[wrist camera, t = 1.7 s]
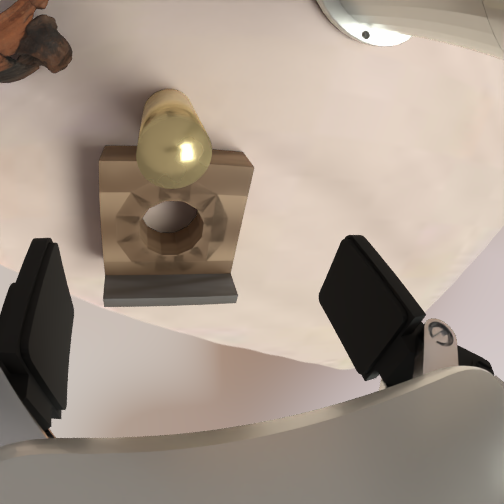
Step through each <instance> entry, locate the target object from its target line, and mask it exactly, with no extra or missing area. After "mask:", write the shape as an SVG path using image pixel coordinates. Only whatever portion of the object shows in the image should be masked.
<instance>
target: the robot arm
mask: <svg viewBox="0 0 504 504" xmlns="http://www.w3.org/2000/svg"><path fill="white" fill-rule="evenodd" d="M316 1H317V2H318V4H319V6H320V8H321V9H322V11H323V13H324V14H325V15H326V17H327V18H328V19H329V20H330V22H331V23H332V24H333V25H334V26H336V27H337V28H338V29H339V30H340V31H341V32H342V33H344V34H345V35H347V36H348V37H350V38H352V39H354V40H356V41H358V42H360V43H364V44H368V45H372V46H380V47H388V46H395V45H398V44H401V43H403V42H405V41H407V40H408V39H410V38H411V37H412V36H415V37H420V38H425V39H430V40H435V41H439V42H444V43H448V44H452V45H456V46H460V47H463V48H467V49H471V50H474V51H477V52H481V53H484V54H487V55H490V56H493V57H496V58H499V59H502V60H504V0H316ZM319 302H320V304H321V306H322V308H323V309H324V311H325V313H326V315H327V317H328V318H329V320H330V322H331V324H332V326H333V328H334V329H335V331H336V333H337V335H338V337H339V339H340V340H341V342H342V344H343V346H344V348H345V350H346V352H347V353H348V355H349V357H350V359H351V361H352V363H353V365H354V367H355V369H356V370H357V372H358V373H359V374H361V375H362V377H363V378H364V380H365V381H367V380H371V379H374V378H376V377H377V376H378V375H379V374H380V376H381V383H380V388H379V391H377V392H374V393H371V394H368V395H365V396H362V397H359V398H355V399H352V400H349V401H346V402H342V403H339V404H335V405H332V406H328V407H324V408H321V409H317V410H313V411H309V412H305V413H301V414H297V415H293V416H289V417H284V418H279V419H274V420H270V421H264V422H259V423H254V424H248V425H242V426H236V427H230V428H224V429H217V430H210V431H202V432H193V433H184V434H174V435H162V436H161V435H160V436H145V437H144V436H143V437H125V438H56V437H55V436H54V435H53V433H52V432H51V430H50V429H49V428H50V427H51V418H54V419H61V410H65V409H66V405H67V381H68V365H69V354H70V344H71V334H72V326H73V318H74V308H73V304H72V301H71V296H70V293H69V289H68V285H67V281H66V277H65V273H64V269H63V265H62V261H61V256H60V251H59V247H58V244H57V243H53V242H52V239H51V238H35V239H33V240H32V242H31V244H30V247H29V249H28V252H27V254H26V257H25V259H24V262H23V264H22V267H21V270H20V272H19V275H18V278H17V281H16V283H12V284H11V285H10V287H9V290H8V293H7V296H6V298H5V301H4V304H3V307H2V311H1V314H0V504H504V382H503V381H502V380H500V379H499V378H498V377H497V376H495V377H494V372H493V370H492V367H491V365H490V363H489V362H488V361H487V360H485V359H483V358H482V357H480V356H478V355H476V354H474V353H472V352H470V351H468V350H466V349H464V348H462V347H460V346H458V345H457V339H456V335H455V333H454V332H453V330H452V329H451V328H450V327H449V326H448V325H447V324H446V323H445V322H443V321H441V320H439V319H436V318H431V319H428V320H427V321H426V322H425V324H423V323H422V322H421V321H422V320H423V318H424V317H425V316H426V314H425V313H424V311H423V310H422V308H421V307H420V306H419V304H418V303H417V302H416V300H415V299H414V298H413V297H412V295H411V294H410V293H409V291H408V290H407V289H406V287H405V286H404V285H403V284H402V282H401V281H400V280H399V278H398V277H397V276H396V275H395V273H394V272H393V271H392V270H391V268H390V267H389V266H388V265H387V263H386V262H385V261H384V260H383V259H382V257H381V256H380V255H379V254H378V252H377V251H376V250H375V249H374V248H373V246H372V245H371V244H370V243H369V242H368V241H367V239H366V238H365V237H364V236H362V235H348V236H346V237H345V239H343V240H342V241H341V243H340V246H339V248H338V250H337V253H336V255H335V258H334V260H333V262H332V265H331V267H330V270H329V272H328V274H327V277H326V279H325V281H324V283H323V286H322V288H321V290H320V293H319Z"/></svg>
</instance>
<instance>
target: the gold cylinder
mask: <svg viewBox="0 0 504 504" xmlns="http://www.w3.org/2000/svg"><path fill="white" fill-rule="evenodd" d="M211 157H212V146H211V142H210V139H209V137H208V135H207V133H206V131H205V129H204V127H203V125H202V123H201V122H200V120H199V118H198V116H197V114H196V112H195V110H194V108H193V106H192V104H191V102H190V101H189V99H188V98H187V96H186V95H185V94H183V93H182V92H180V91H178V90H174V89H165V90H161V91H158V92H156V93H155V94H153V95H152V96H151V97H150V98H149V99H148V100H147V102H146V104H145V106H144V110H143V115H142V121H141V127H140V133H139V139H138V145H137V152H136V159H137V164H138V168H139V170H140V172H141V173H142V175H143V176H144V177H145V178H146V179H147V180H148V181H149V182H151V183H152V184H154V185H156V186H159V187H162V188H167V189H176V188H182V187H185V186H188V185H190V184H192V183H194V182H195V181H197V180H198V179H199V178H200V177H201V176H202V175H203V174H204V173H205V171H206V170H207V168H208V166H209V164H210V161H211Z"/></svg>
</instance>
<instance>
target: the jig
mask: <svg viewBox="0 0 504 504" xmlns="http://www.w3.org/2000/svg"><path fill="white" fill-rule="evenodd" d="M136 152H137V146H105V147H104V150H103V152H102V155H101V157H100V160H99V200H100V221H101V236H102V248H103V259H104V268H105V283H104V295H103V301H104V307H136V306H177V305H203V304H225V303H236V301H237V297H238V294H237V291H236V288H235V285H234V282H233V279H232V276H231V269H232V264H233V260H234V255H235V251H236V246H237V241H238V237H239V233H240V228H241V224H242V219H243V215H244V210H245V206H246V201H247V197H248V193H249V188H250V184H251V180H252V175H253V171H254V167H253V165H252V164H251V162H250V161H249V160H248V158H247V157H246V155H245V154H244V153H243V152H236V151H225V150H212V157H211V161H210V164H209V166H208V168H207V170H206V171H205V173H204V174H203V175H202V176H201V177H200V178H199V179H198V180H197V181H195V182H194V183H192V184H190V185H188V186H185V187H182V188H176V189H167V188H162V187H159V186H156V185H154V184H152V183H151V182H149V181H148V180H147V179H146V178H145V177H144V176H143V175H142V173H141V172H140V170H139V168H138V164H137V159H136ZM164 201H183V202H185V203H187V204H189V205H190V206H192V207H194V208H195V209H197V216H196V217H195V218H194V219H193V221H192V222H191V223H190V224H189V226H188V227H186V228H184V229H181V230H179V231H177V232H175V233H160V232H158V231H156V230H154V229H152V228H150V227H148V226H147V225H146V224H145V222H144V220H143V219H142V218H143V216H144V215H145V213H146V212H147V211H148V209H149V208H151V207H153V206H155V205H157V204H159V203H162V202H164Z"/></svg>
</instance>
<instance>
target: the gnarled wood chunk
mask: <svg viewBox="0 0 504 504" xmlns="http://www.w3.org/2000/svg"><path fill="white" fill-rule="evenodd" d="M48 1H49V0H18V1H17V2H15V3H14V4H13V5H12V6H11V7H9V8H8V9H6V10H5V11H4V12H2V13H1V14H0V83H10V82H15V81H18V80H21V79H24V78H25V77H27V76H28V75H30V74H32V73H33V72H35V71H36V70H37V69H39V66H40V65H42V66H45V67H47V68H48V70H50V71H51V72H52V73H57V72H59V71H61V70H63V69H65V68H66V67H67V66H68V64H69V63H70V62H71V60H72V49H71V47H70V45H69V43H68V42H67V40H66V39H65V38H64V37H63V36H62V35H61V34H60V33H59V32H58V31H57V25H56V23H55V19H54V18H53V17H50V16H47V15H39V16H37V17H35V18H34V19H33V14H34V12H35V10H36V9H45V8H46V6H47V3H48ZM15 53H17V54H18V55H20V56H19V57H18V59H17V60H15V59H13V58H11V57H8V56H12V55H14V54H15Z"/></svg>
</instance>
